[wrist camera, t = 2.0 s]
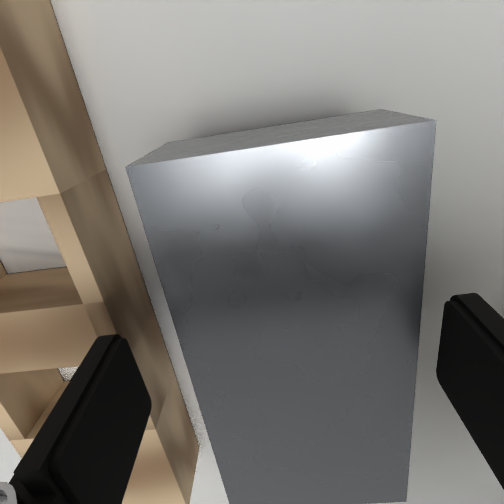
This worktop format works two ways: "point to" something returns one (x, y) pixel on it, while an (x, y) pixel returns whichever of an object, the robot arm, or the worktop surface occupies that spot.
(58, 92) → the light brown long block
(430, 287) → the worktop surface
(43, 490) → the robot arm
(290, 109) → the worktop surface
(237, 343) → the brushed steel slab
